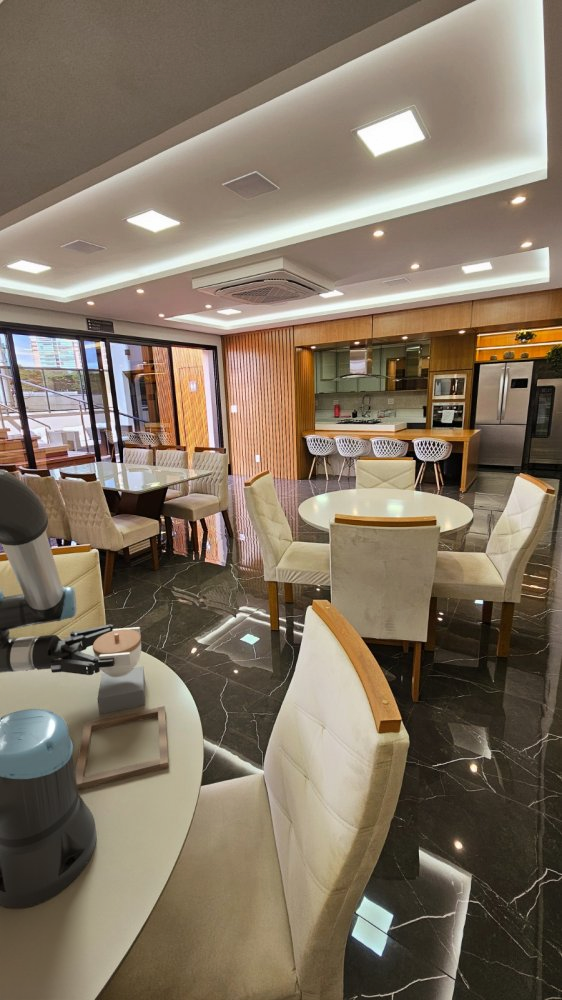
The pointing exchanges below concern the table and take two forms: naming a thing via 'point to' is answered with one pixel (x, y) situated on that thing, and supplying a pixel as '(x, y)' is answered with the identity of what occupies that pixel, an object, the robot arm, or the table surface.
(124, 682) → the gray stand
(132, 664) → the lidded jar
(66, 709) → the table surface
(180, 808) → the table surface
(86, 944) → the table surface
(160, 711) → the walnut collar
